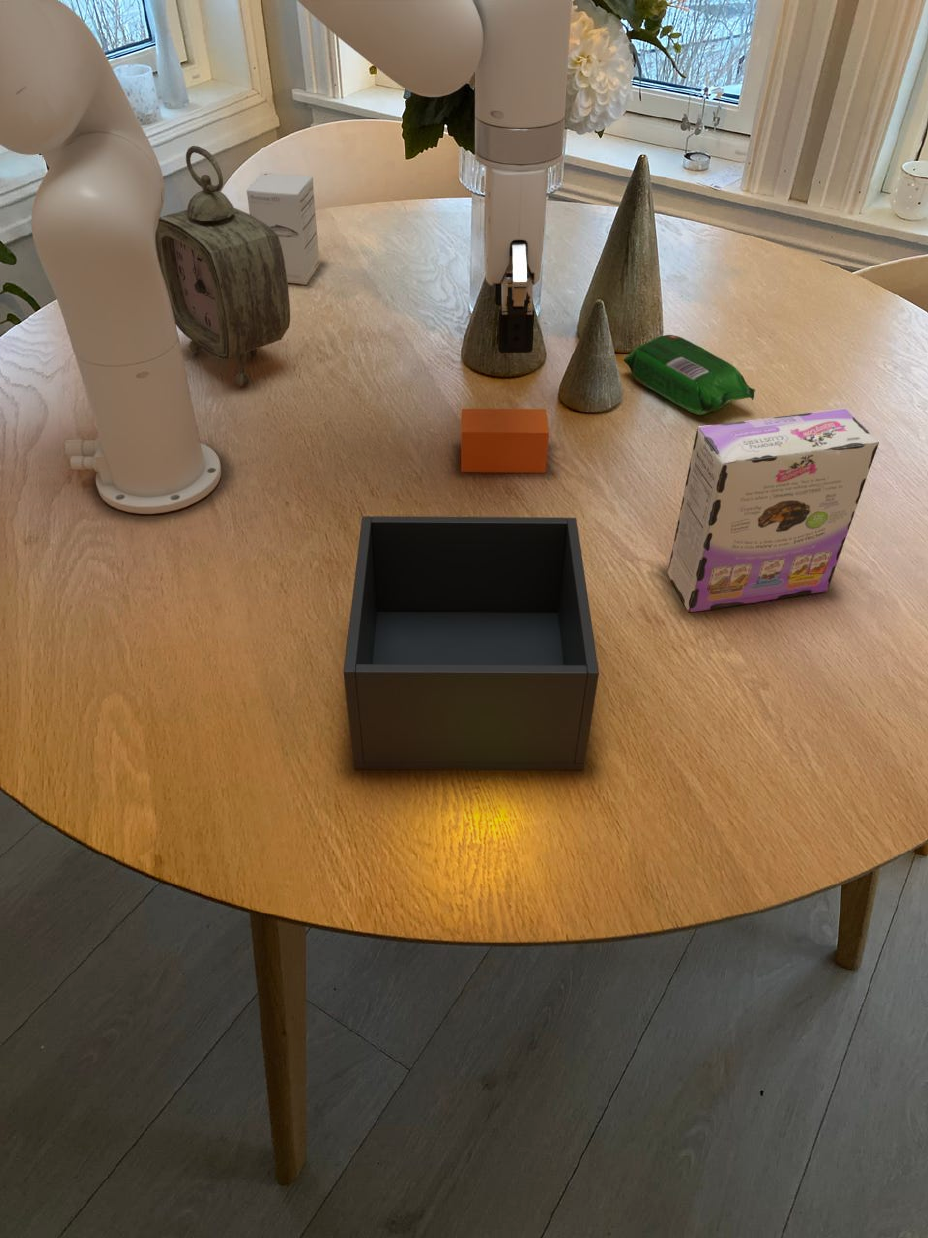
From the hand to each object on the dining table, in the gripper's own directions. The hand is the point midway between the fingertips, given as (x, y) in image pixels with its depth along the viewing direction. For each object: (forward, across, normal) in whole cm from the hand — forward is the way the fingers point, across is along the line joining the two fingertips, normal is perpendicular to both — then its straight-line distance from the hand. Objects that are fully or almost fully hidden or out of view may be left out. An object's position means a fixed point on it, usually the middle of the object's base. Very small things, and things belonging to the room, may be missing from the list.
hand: (513, 326), depth 93 cm
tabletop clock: (+15, -21, -33) cm, 42 cm away
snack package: (+16, -14, +21) cm, 30 cm away
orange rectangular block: (+15, 0, -1) cm, 15 cm away
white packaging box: (+15, -47, -30) cm, 58 cm away
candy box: (+16, +20, +21) cm, 33 cm away
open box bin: (+15, +33, -5) cm, 37 cm away
